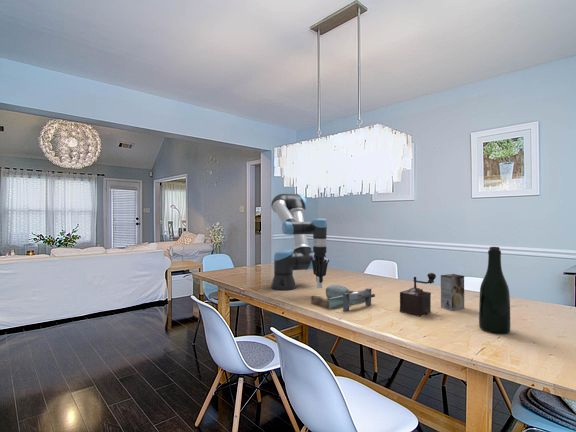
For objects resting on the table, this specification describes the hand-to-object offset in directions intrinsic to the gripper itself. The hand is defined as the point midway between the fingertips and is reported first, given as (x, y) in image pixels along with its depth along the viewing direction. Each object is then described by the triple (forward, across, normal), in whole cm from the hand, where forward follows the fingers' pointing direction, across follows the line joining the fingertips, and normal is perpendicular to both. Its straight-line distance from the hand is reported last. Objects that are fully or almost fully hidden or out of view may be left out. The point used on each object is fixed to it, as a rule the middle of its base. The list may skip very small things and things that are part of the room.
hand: (319, 287), depth 181 cm
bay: (+4, +15, 0) cm, 16 cm away
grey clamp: (+4, +28, +1) cm, 28 cm away
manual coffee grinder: (+4, +49, +18) cm, 53 cm away
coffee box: (+4, +56, +36) cm, 67 cm away
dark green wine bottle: (+4, +81, +19) cm, 84 cm away
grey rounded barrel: (+5, +13, +1) cm, 14 cm away
